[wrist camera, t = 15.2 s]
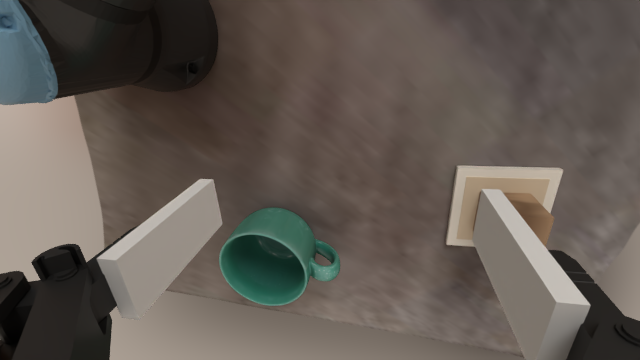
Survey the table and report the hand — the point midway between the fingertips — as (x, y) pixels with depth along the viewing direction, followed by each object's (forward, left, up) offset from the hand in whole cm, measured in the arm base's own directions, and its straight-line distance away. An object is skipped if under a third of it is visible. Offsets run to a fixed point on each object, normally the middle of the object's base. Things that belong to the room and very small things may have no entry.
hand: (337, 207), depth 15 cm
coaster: (+18, -14, -27) cm, 35 cm away
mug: (-11, -21, -27) cm, 36 cm away
